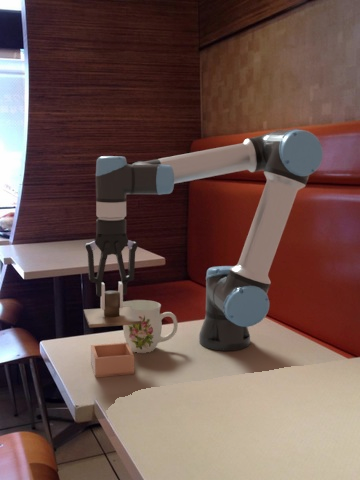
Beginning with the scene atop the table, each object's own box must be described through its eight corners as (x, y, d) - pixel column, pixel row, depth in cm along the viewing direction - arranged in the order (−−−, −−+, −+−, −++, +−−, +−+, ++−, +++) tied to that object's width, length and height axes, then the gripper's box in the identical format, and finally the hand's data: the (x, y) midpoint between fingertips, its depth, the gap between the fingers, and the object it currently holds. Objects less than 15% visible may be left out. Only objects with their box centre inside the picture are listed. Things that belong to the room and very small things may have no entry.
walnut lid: (131, 309, 161) (131, 285, 160) (141, 323, 149) (141, 297, 148) (83, 312, 158) (83, 287, 156) (89, 327, 145) (89, 300, 144)
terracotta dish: (127, 359, 162) (127, 342, 161) (134, 374, 152) (134, 355, 151) (91, 362, 159) (90, 345, 158) (95, 377, 150) (95, 358, 149)
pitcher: (177, 356, 165) (178, 308, 162) (113, 356, 164) (112, 308, 162) (176, 342, 176) (177, 298, 173) (116, 342, 175) (115, 297, 173)
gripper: (141, 215, 154) (141, 301, 158) (75, 216, 150) (77, 305, 154) (147, 219, 147) (146, 309, 151) (78, 220, 143) (79, 313, 147)
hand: (111, 307), depth 153 cm, fingers closed on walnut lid, 4 cm apart
